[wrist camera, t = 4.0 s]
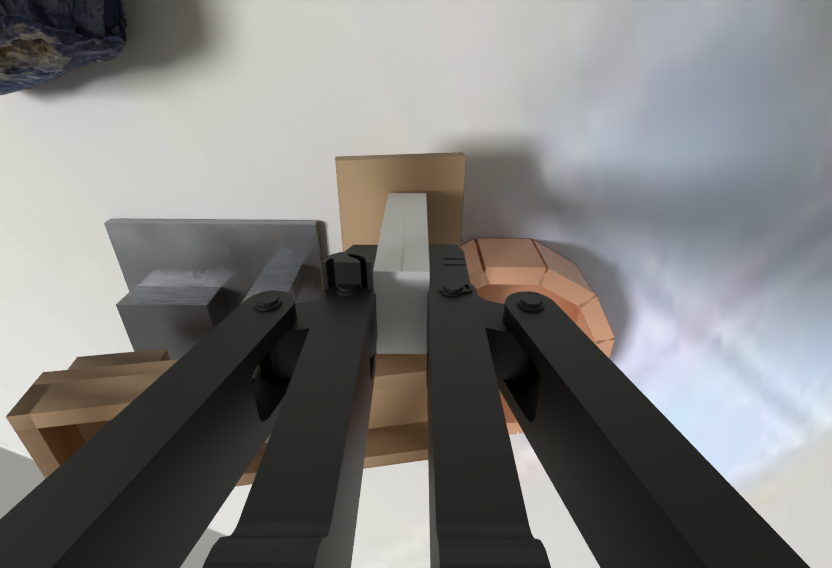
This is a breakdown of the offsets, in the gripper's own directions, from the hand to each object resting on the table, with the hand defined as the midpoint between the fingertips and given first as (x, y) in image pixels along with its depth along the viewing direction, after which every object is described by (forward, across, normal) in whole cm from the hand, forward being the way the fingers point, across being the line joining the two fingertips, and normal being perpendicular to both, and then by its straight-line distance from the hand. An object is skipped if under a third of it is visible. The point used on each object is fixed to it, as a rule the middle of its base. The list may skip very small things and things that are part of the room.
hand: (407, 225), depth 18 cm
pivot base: (+6, -11, -9) cm, 16 cm away
